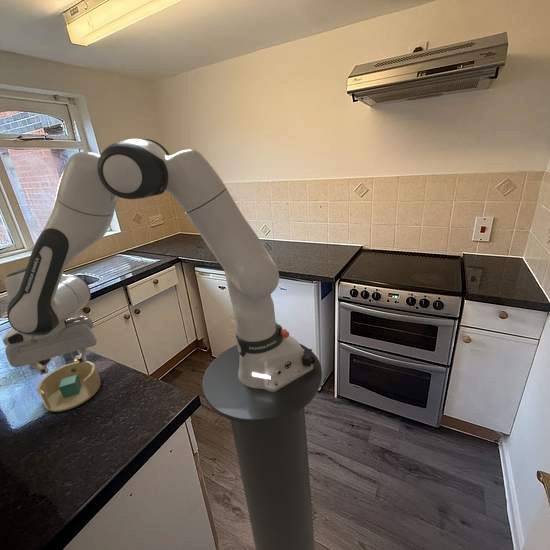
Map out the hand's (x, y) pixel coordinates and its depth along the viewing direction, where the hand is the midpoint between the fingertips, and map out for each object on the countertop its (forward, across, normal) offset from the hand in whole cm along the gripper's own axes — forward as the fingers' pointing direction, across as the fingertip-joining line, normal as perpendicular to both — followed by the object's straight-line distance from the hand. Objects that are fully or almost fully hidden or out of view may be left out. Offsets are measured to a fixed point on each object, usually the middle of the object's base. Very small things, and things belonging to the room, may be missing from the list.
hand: (64, 367), depth 85 cm
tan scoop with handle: (+9, 0, -3) cm, 10 cm away
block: (+9, 0, 0) cm, 9 cm away
